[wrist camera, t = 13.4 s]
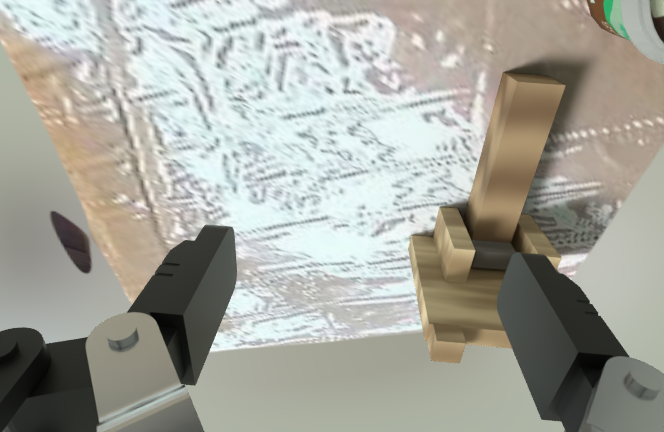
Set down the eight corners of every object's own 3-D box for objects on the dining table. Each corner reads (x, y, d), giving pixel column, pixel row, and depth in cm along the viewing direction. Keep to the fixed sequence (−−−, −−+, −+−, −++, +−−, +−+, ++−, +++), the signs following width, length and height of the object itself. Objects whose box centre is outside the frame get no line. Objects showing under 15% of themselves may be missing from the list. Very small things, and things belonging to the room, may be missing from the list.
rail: (503, 72, 37) (526, 87, 32) (546, 75, 37) (576, 91, 32) (459, 234, 46) (472, 266, 41) (494, 237, 46) (511, 270, 41)
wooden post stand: (417, 205, 45) (442, 305, 31) (553, 216, 44) (640, 323, 31) (408, 250, 48) (427, 360, 34) (535, 261, 47) (606, 376, 34)
